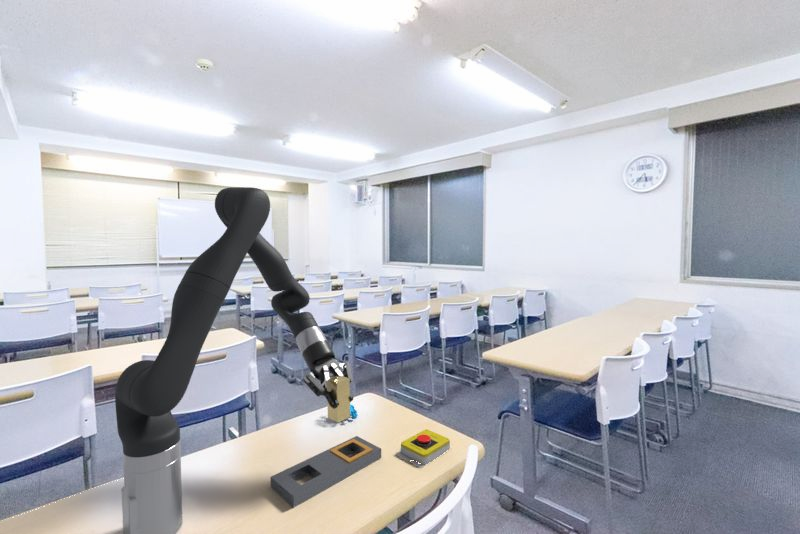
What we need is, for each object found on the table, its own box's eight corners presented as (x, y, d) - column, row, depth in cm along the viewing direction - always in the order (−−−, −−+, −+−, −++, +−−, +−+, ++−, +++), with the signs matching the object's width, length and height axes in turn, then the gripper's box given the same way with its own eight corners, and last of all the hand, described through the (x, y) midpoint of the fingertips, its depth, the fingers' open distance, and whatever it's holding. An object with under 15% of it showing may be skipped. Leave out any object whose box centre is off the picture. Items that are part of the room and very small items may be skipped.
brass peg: (337, 422, 91) (336, 382, 91) (327, 417, 94) (327, 379, 93) (350, 417, 94) (349, 378, 94) (340, 412, 97) (339, 374, 96)
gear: (357, 419, 117) (335, 396, 118) (344, 432, 117) (322, 410, 117) (360, 409, 128) (340, 388, 129) (348, 421, 128) (328, 400, 128)
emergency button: (395, 440, 100) (430, 421, 110) (395, 456, 100) (430, 436, 110) (421, 453, 93) (456, 432, 104) (421, 470, 93) (456, 447, 104)
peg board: (293, 507, 79) (293, 494, 79) (270, 487, 86) (270, 475, 86) (381, 457, 98) (381, 447, 98) (356, 444, 105) (356, 434, 105)
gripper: (296, 344, 93) (326, 406, 85) (341, 334, 103) (371, 388, 96) (286, 361, 97) (313, 421, 89) (330, 349, 107) (358, 402, 100)
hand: (343, 403), depth 93 cm, fingers closed on brass peg, 4 cm apart
